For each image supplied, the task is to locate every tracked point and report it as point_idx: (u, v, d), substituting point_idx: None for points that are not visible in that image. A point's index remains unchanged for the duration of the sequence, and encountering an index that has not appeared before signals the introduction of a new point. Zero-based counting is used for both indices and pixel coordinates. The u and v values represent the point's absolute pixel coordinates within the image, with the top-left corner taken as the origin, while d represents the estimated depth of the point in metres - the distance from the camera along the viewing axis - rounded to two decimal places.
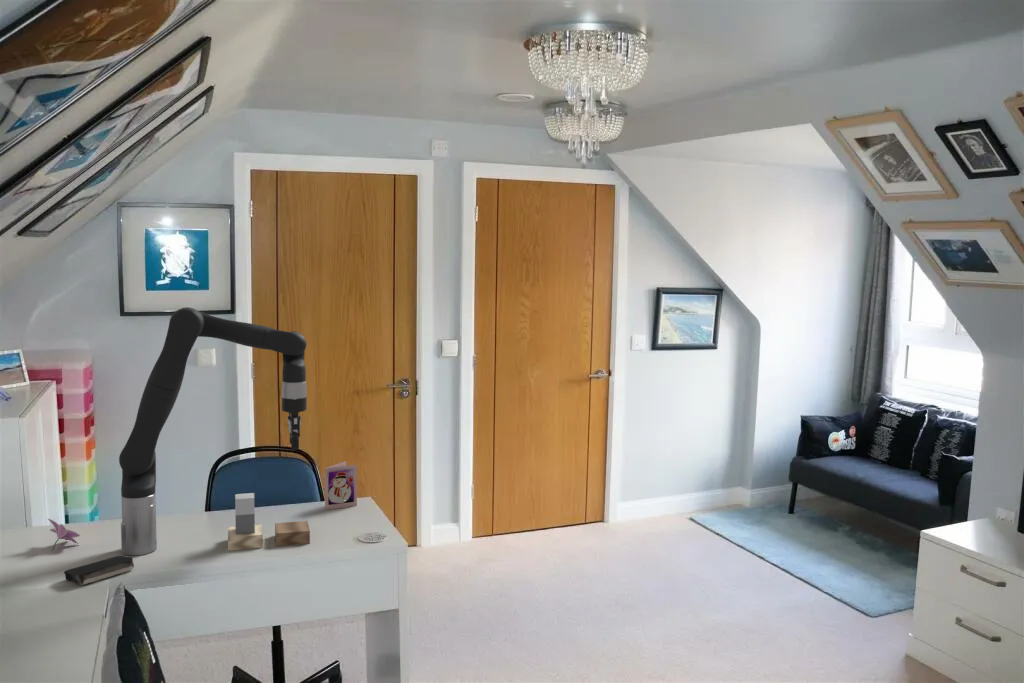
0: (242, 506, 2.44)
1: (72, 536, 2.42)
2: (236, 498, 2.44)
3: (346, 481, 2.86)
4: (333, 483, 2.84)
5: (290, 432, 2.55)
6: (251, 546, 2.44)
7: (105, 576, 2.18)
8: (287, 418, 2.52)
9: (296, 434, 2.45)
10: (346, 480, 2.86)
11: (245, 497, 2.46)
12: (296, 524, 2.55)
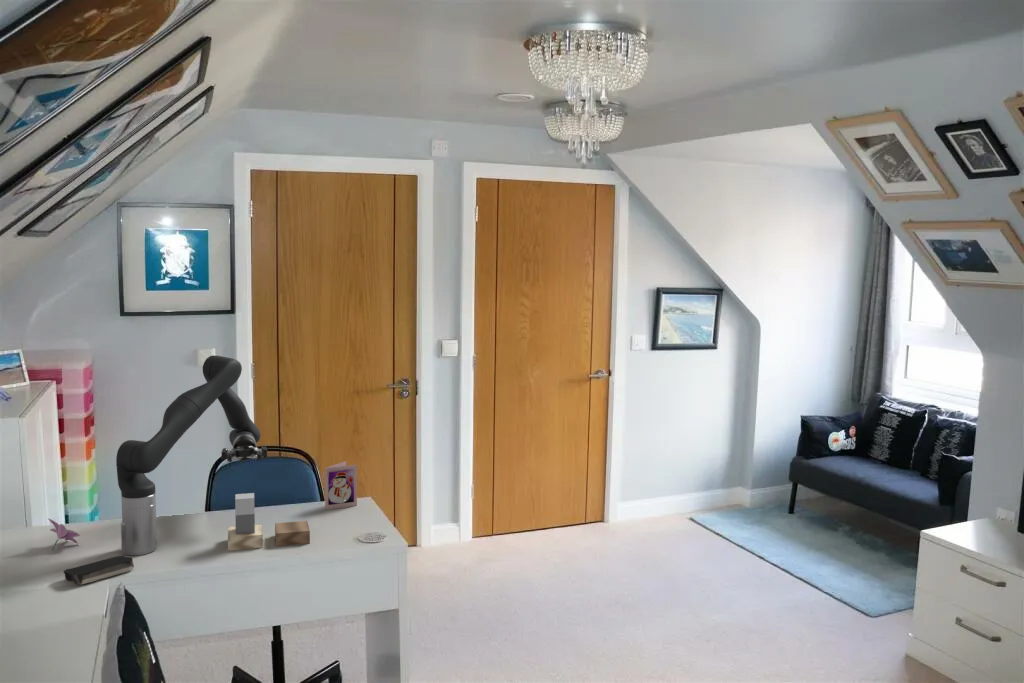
0: (242, 506, 2.44)
1: (72, 536, 2.42)
2: (236, 498, 2.44)
3: (346, 481, 2.86)
4: (333, 483, 2.84)
5: None
6: (251, 546, 2.44)
7: (104, 576, 2.18)
8: (241, 446, 2.66)
9: None
10: (346, 480, 2.86)
11: (245, 497, 2.46)
12: (296, 524, 2.55)
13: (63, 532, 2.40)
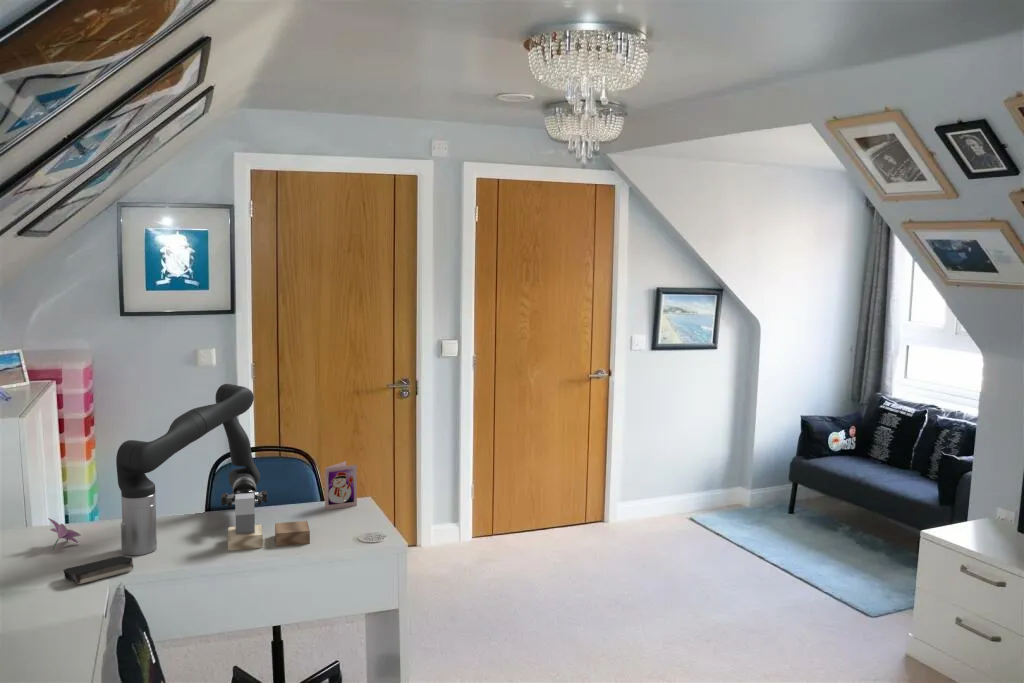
0: (242, 506, 2.44)
1: (73, 535, 2.42)
2: (236, 498, 2.44)
3: (346, 481, 2.86)
4: (333, 483, 2.84)
5: None
6: (251, 546, 2.44)
7: (103, 576, 2.18)
8: (241, 490, 2.63)
9: None
10: (346, 480, 2.86)
11: (245, 497, 2.46)
12: (296, 524, 2.55)
13: (63, 532, 2.41)
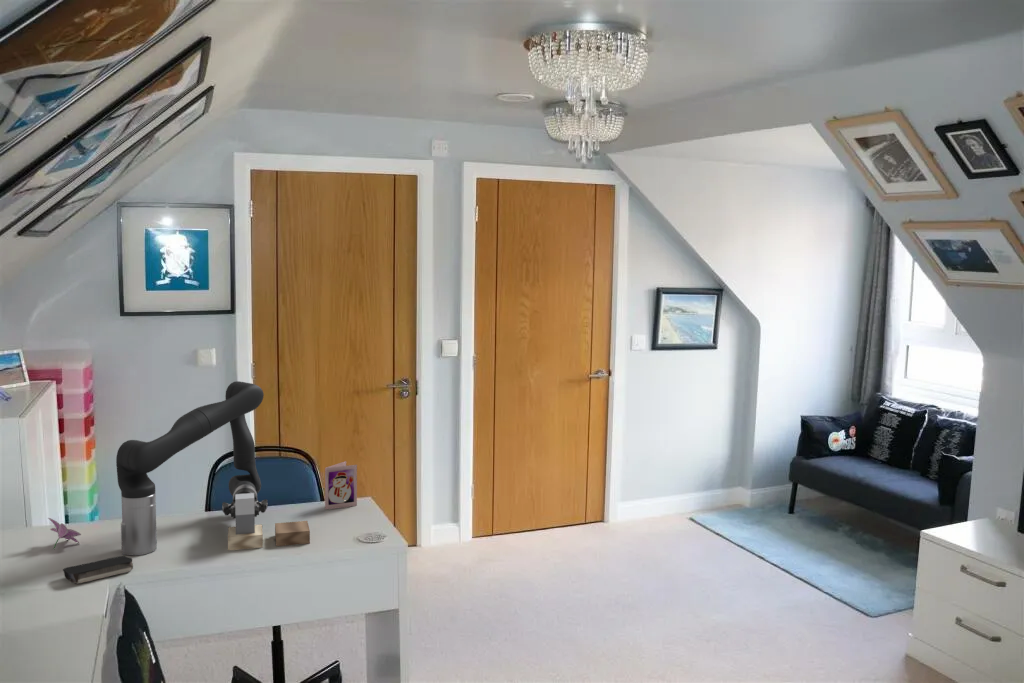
0: (242, 506, 2.44)
1: (73, 535, 2.43)
2: (236, 498, 2.44)
3: (346, 481, 2.86)
4: (333, 483, 2.84)
5: None
6: (251, 546, 2.44)
7: (101, 576, 2.18)
8: None
9: None
10: (346, 480, 2.86)
11: (245, 497, 2.46)
12: (296, 524, 2.55)
13: (64, 531, 2.41)
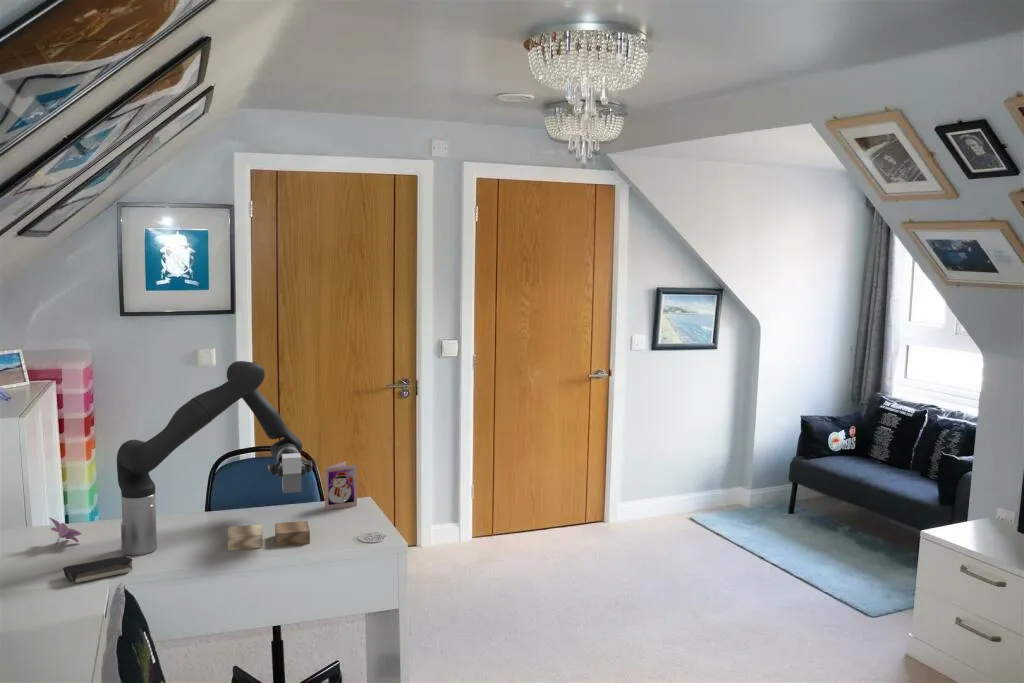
0: (290, 465, 2.48)
1: (73, 535, 2.43)
2: (283, 457, 2.48)
3: (346, 481, 2.86)
4: (333, 483, 2.84)
5: (281, 468, 2.51)
6: (251, 546, 2.44)
7: (99, 576, 2.18)
8: None
9: None
10: (346, 480, 2.86)
11: (292, 456, 2.49)
12: (296, 524, 2.55)
13: (64, 531, 2.41)
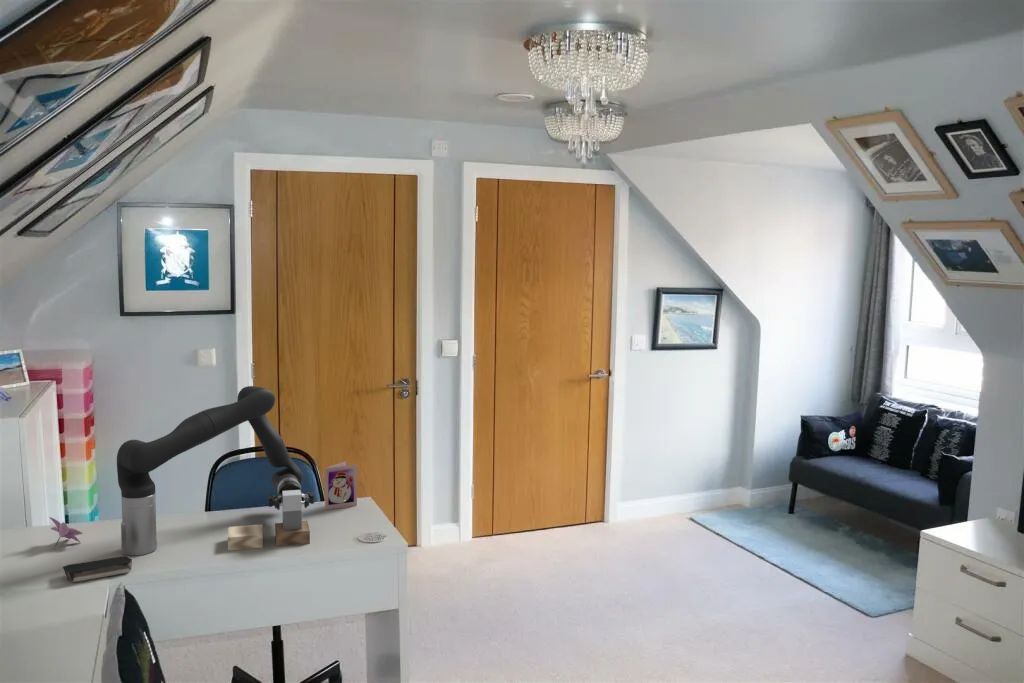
0: (290, 503, 2.49)
1: (74, 534, 2.44)
2: (284, 495, 2.49)
3: (346, 481, 2.86)
4: (333, 483, 2.84)
5: (278, 500, 2.52)
6: (251, 546, 2.44)
7: (97, 576, 2.18)
8: None
9: None
10: (346, 480, 2.86)
11: (292, 493, 2.50)
12: None
13: (65, 530, 2.42)
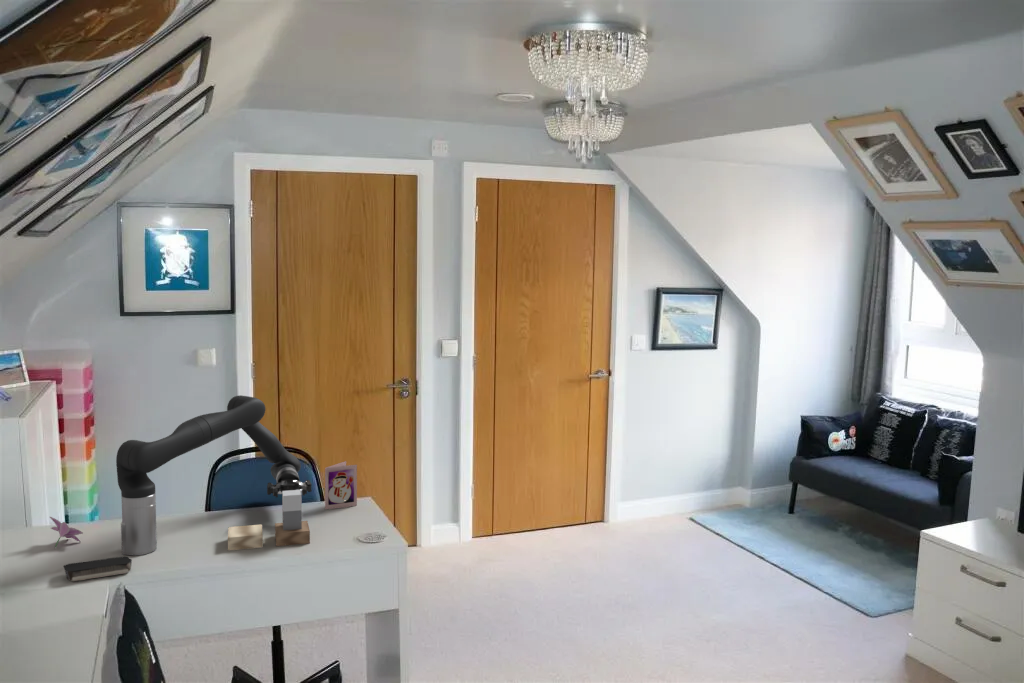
0: (290, 503, 2.49)
1: (74, 534, 2.44)
2: (284, 495, 2.49)
3: (346, 481, 2.86)
4: (333, 483, 2.84)
5: (276, 488, 2.64)
6: (251, 546, 2.44)
7: (96, 576, 2.18)
8: (285, 480, 2.70)
9: None
10: (346, 480, 2.86)
11: (292, 493, 2.50)
12: None
13: (65, 530, 2.42)
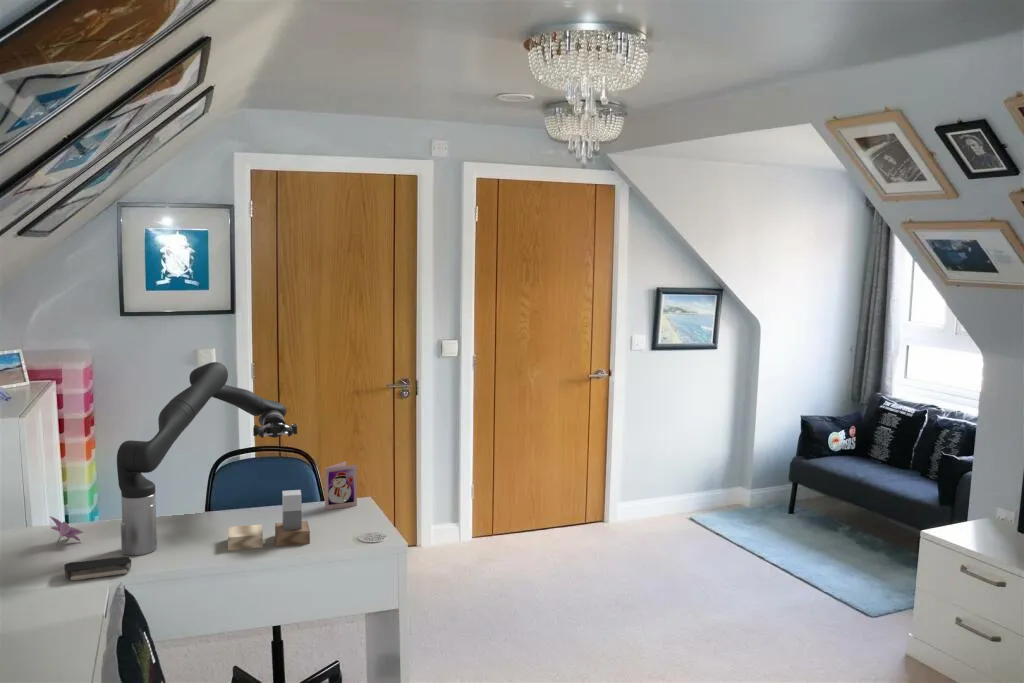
0: (290, 503, 2.49)
1: (75, 533, 2.44)
2: (284, 495, 2.49)
3: (346, 481, 2.86)
4: (333, 483, 2.84)
5: (262, 429, 2.68)
6: (251, 546, 2.44)
7: (95, 575, 2.19)
8: (271, 423, 2.73)
9: None
10: (346, 480, 2.86)
11: (292, 493, 2.50)
12: None
13: (66, 530, 2.43)
